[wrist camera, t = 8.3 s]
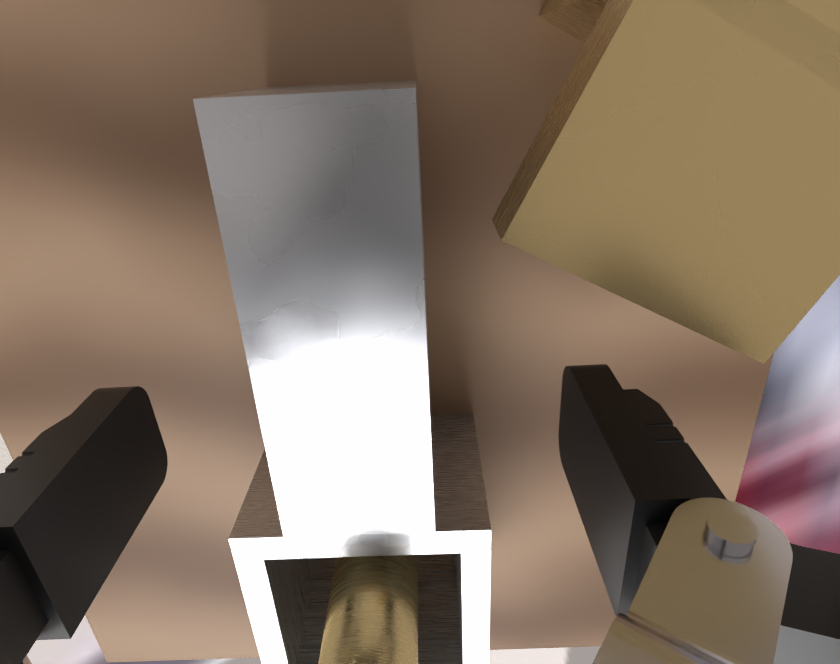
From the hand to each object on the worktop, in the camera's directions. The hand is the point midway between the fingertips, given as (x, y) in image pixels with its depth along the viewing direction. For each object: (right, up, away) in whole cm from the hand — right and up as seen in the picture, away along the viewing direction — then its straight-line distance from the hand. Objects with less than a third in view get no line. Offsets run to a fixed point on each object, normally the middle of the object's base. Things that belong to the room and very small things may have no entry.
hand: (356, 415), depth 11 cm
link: (0, +1, +3) cm, 3 cm away
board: (0, 0, +5) cm, 5 cm away
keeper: (+5, +6, 0) cm, 8 cm away
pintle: (0, -3, +5) cm, 6 cm away
